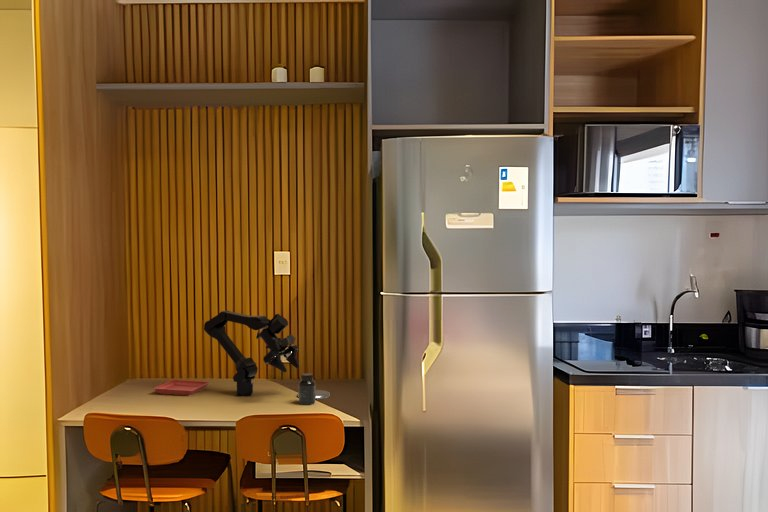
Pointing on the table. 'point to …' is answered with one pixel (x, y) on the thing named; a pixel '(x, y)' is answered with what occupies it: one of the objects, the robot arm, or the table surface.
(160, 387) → the plant saucer
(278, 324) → the robot arm
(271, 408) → the table surface
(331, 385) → the table surface
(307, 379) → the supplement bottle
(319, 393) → the rosette plate
